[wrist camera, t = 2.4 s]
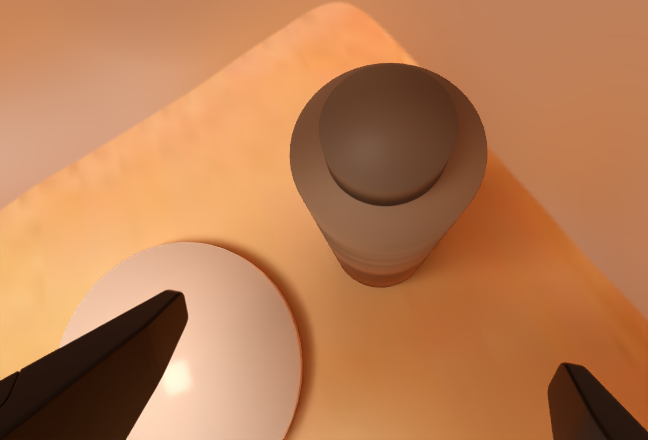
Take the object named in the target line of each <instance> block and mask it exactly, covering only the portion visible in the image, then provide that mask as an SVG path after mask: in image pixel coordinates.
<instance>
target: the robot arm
mask: <svg viewBox="0 0 648 440" xmlns="http://www.w3.org/2000/svg"><path fill="white" fill-rule="evenodd" d="M187 321H188V311H187V306H186V301H185V296H184V294H183V293H182V292H181V291H176V290H170V289H168V290H165V291H163V292H161V293H159V294H157V295H155V296H154V297H152V298H150V299H148V300H146V301H144V302H143V303H141V304H139V305H137V306H135V307H134V308H132V309H130V310H128V311H126V312H124V313H123V314H121V315H119V316H117V317H115V318H114V319H112V320H110V321H108V322H106V323H104V324H103V325H101V326H99V327H97V328H95V329H93V330H92V331H90V332H88V333H86V334H84V335H83V336H81V337H79V338H77V339H75V340H73V341H72V342H70V343H68V344H66V345H64V346H63V347H61V348H59V349H57V350H55V351H53V352H52V353H50V354H48V355H46V356H44V357H43V358H41V359H39V360H37V361H35V362H33V363H32V364H30V365H28V366H26V367H24V368H22V369H21V371H20V372H19V371H17V372H15V373H13V374H11V375H10V376H8V377H6V378H4V379H2V380H0V440H126V439H127V437H128V436H129V434H130V432H131V430H132V429H133V427H134V425H135V424H136V422H137V420H138V418H139V417H140V415H141V413H142V412H143V410H144V408H145V407H146V405H147V403H148V401H149V400H150V398H151V396H152V395H153V393H154V391H155V389H156V388H157V386H158V384H159V382H160V381H161V379H162V377H163V375H164V373H165V371H166V369H167V366H168V364H169V362H170V360H171V358H172V355H173V353H174V351H175V349H176V347H177V344H178V342H179V340H180V338H181V336H182V333H183V331H184V329H185V327H186V324H187ZM548 401H549V409H550V417H551V424H552V432H553V440H648V432H647V431H646V430H645V429H644V428H643V427H642V426H641V425H640V423H639V422H638V421H637V420H636V419H635V418H634V417H633V416H632V415H631V414H630V413H629V412H628V411H627V410H626V409H625V408H624V407H623V406H622V405H621V404H620V403H619V402H618V401H617V400H616V399H615V398H614V397H613V396H612V395H611V394H610V392H609V391H608V390H607V389H606V388H605V387H604V386H603V385H602V384H601V383H600V382H599V381H598V380H597V379H596V378H595V377H594V376H593V375H592V374H591V373H590V372H589V371H588V370H587V369H586V368H585V367H583V366H581V365H577V364H572V363H566V362H564V363H561V364H560V365H559V367H558V369H557V371H556V373H555V375H554V376H553V378H552V380H551V382H550V384H549V387H548Z"/></svg>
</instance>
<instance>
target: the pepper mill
mask: <svg viewBox="0 0 648 440" xmlns="http://www.w3.org/2000/svg"><path fill="white" fill-rule="evenodd" d="M486 164H487V141H486V136H485V131H484V127H483V125H482V122H481V119H480V117H479V115H478V113H477V111H476V110H475V108H474V106H473V105H472V104H471V102H470V101H469V100H468V98H467V97H466V96H465V95H464V94H463V93H462V92H461V91H460V90H459V89H458V88H457V87H456V86H455V85H453V84H452V83H450V81H448V80H447V79H445V78H443V77H441V76H440V75H438V74H436V73H434V72H431V71H429V70H427V69H424V68H420V67H417V66H413V65H407V64H400V63H380V64H373V65H367V66H363V67H360V68H356V69H353V70H351V71H348V72H346V73H344V74H342V75H340V76H338V77H336V78H335V79H333V80H331V81H330V82H329V83H327V84H326V85H324V86H323V87H322V88H321V89H320V90H319V91H318V92H317V93H316V94H315V95H314V96H313V97H312V98H311V99H310V100H309V102H308V103H307V104H306V106H305V107H304V109H303V110H302V112H301V114H300V116H299V118H298V120H297V122H296V124H295V127H294V130H293V133H292V138H291V144H290V166H291V171H292V176H293V180H294V182H295V185H296V187H297V190H298V192H299V194H300V195H301V197H302V199H303V201H304V202H305V204H306V206H307V208H308V209H309V211H310V213H311V215H312V216H313V218H314V220H315V221H316V223H317V225H318V227H319V228H320V230H321V232H322V233H323V235H324V237H325V239H326V240H327V242H328V244H329V246H330V247H331V249H332V251H333V252H334V254H335V256H336V258H337V259H338V261H339V263H340V264H341V266H342V268H343V269H344V270H345V272H346V273H347V274H348V275H349V276H351V277H352V278H353V279H354V280H356V281H358V282H359V283H362V284H364V285H367V286H371V287H390V286H394V285H396V284H399V283H401V282H403V281H405V280H406V279H407V278H409V277H410V276H411V275H412V274H413V273H414V272H415V271H416V270H417V268H418V267H419V266H420V265H421V263H422V262H423V261H424V260H425V258H426V257H427V256H428V255H429V254H430V252H431V251H432V250H433V249H434V247H435V246H436V245H437V244H438V242H439V241H440V240H441V239H442V237H443V236H444V235H445V234H446V232H447V231H448V230H449V229H450V227H451V226H452V225H453V224H454V223H455V221H456V220H457V219H458V218H459V216H460V215H461V214H462V213H463V211H464V210H465V209H466V208H467V206H468V205H469V204H470V202H471V201H472V200H473V198H474V196H475V195H476V193H477V191H478V189H479V187H480V185H481V182H482V179H483V177H484V173H485V168H486Z"/></svg>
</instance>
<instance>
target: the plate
mask: <svg viewBox="0 0 648 440" xmlns="http://www.w3.org/2000/svg"><path fill="white" fill-rule="evenodd" d="M168 289H170V290H176V291H181V292H182V293H183V294H184V296H185V301H186V306H187V311H188V321H187V324H186V327H185V329H184V331H183V333H182V336H181V338H180V340H179V342H178V344H177V347H176V349H175V351H174V353H173V355H172V358H171V360H170V362H169V364H168V366H167V369H166V371H165V373H164V375H163V377H162V379H161V381H160V382H159V384H158V386H157V388H156V389H155V391H154V393H153V395H152V396H151V398H150V400H149V401H148V403H147V405H146V407H145V408H144V410H143V412H142V413H141V415H140V417H139V418H138V420H137V422H136V424H135V425H134V427H133V429H132V430H131V432H130V434H129V436H128V437H127V439H126V440H283V439H284V438H285V436H286V434H287V432H288V430H289V427H290V425H291V423H292V420H293V418H294V415H295V412H296V408H297V405H298V401H299V397H300V391H301V385H302V371H303V359H302V347H301V342H300V337H299V332H298V328H297V325H296V322H295V319H294V316H293V314H292V311H291V309H290V307H289V305H288V303H287V301H286V299H285V298H284V296H283V295H282V293H281V292H280V290H279V289H278V288H277V286H276V285H275V284H274V283H273V282H272V280H271V279H270V278H269V277H268V276H267V275H266V274H265V273H264V272H263V271H261V270H260V269H259V268H258V267H257V266H255V265H254V264H252V263H251V262H249V261H248V260H246V259H245V258H243V257H241V256H239V255H237V254H235V253H233V252H230V251H228V250H226V249H224V248H220V247H217V246H213V245H210V244H204V243H197V242H176V243H168V244H163V245H159V246H155V247H151V248H148V249H146V250H143V251H141V252H138V253H136V254H134V255H132V256H131V257H129V258H127V259H125V260H123V261H122V262H120V263H119V264H117V265H116V266H115V267H113V268H112V269H111V270H109V271H108V272H107V273H106V274H105V275H104V276H103V277H101V278H100V279H99V280H98V281H97V282H96V283H95V284H94V286H93V287H92V288H91V289H90V290H89V291H88V292H87V294H86V295H85V296H84V298H83V299H82V301H81V302H80V303H79V305H78V306H77V308H76V310H75V311H74V313H73V315H72V317H71V319H70V320H69V322H68V325H67V327H66V329H65V332H64V334H63V337H62V339H61V343H60V346H59V348H61V347H63V346H64V345H66V344H68V343H70V342H72V341H73V340H75V339H77V338H79V337H81V336H83V335H84V334H86V333H88V332H90V331H92V330H93V329H95V328H97V327H99V326H101V325H103V324H104V323H106V322H108V321H110V320H112V319H114V318H115V317H117V316H119V315H121V314H123V313H124V312H126V311H128V310H130V309H132V308H134V307H135V306H137V305H139V304H141V303H143V302H144V301H146V300H148V299H150V298H152V297H154V296H155V295H157V294H159V293H161V292H163V291H165V290H168Z"/></svg>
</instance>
